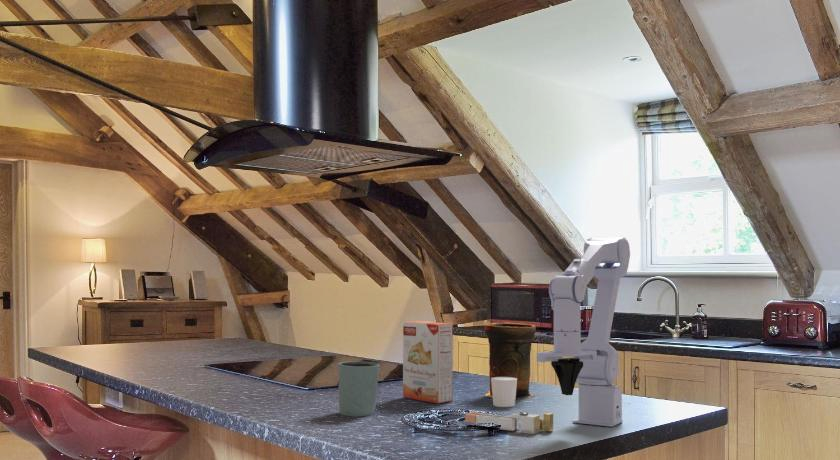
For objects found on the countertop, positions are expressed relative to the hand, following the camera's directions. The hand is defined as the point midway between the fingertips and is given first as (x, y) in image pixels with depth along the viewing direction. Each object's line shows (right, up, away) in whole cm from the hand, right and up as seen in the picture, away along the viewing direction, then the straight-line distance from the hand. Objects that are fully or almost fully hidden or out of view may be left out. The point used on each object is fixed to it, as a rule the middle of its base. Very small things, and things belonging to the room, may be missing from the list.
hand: (567, 394), depth 173 cm
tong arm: (-15, -8, +6) cm, 18 cm away
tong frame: (-14, -8, +4) cm, 16 cm away
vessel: (-6, -11, +52) cm, 54 cm away
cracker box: (-30, -11, +43) cm, 54 cm away
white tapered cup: (-10, -10, +36) cm, 38 cm away
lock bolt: (-5, -8, +2) cm, 10 cm away
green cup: (-47, -9, +22) cm, 52 cm away
